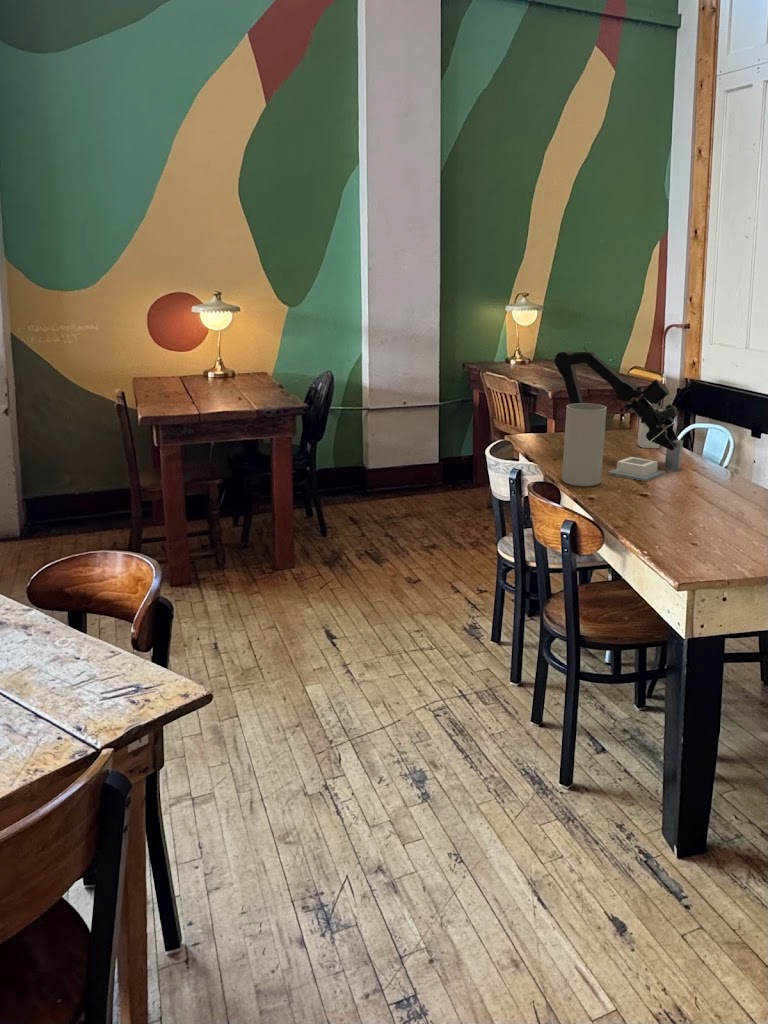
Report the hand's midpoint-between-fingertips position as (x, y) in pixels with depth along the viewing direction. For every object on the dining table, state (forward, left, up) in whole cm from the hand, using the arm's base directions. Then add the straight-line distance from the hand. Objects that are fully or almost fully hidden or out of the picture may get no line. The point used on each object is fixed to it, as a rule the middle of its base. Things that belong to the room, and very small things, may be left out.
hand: (676, 447), depth 304 cm
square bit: (0, 0, -8) cm, 8 cm away
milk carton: (+12, +34, -8) cm, 37 cm away
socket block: (-16, -3, -8) cm, 18 cm away
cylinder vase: (-39, -7, -8) cm, 41 cm away
